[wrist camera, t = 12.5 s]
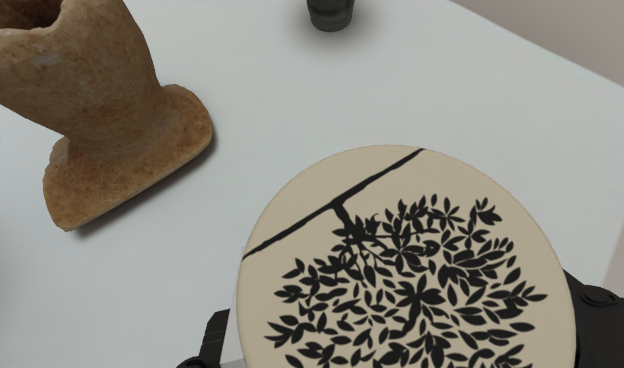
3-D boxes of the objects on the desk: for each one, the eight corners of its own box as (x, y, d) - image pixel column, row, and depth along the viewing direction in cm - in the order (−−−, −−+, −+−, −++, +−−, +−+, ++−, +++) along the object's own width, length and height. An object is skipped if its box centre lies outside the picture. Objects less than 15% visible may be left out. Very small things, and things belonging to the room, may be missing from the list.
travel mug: (437, 346, 22) (693, 401, 6) (332, 397, 22) (299, 614, 5) (382, 242, 26) (453, 93, 9) (289, 284, 25) (186, 203, 9)
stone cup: (182, 70, 35) (76, -93, 21) (232, 151, 31) (142, 14, 17) (47, 143, 33) (-170, 15, 19) (81, 240, 28) (-166, 169, 15)
